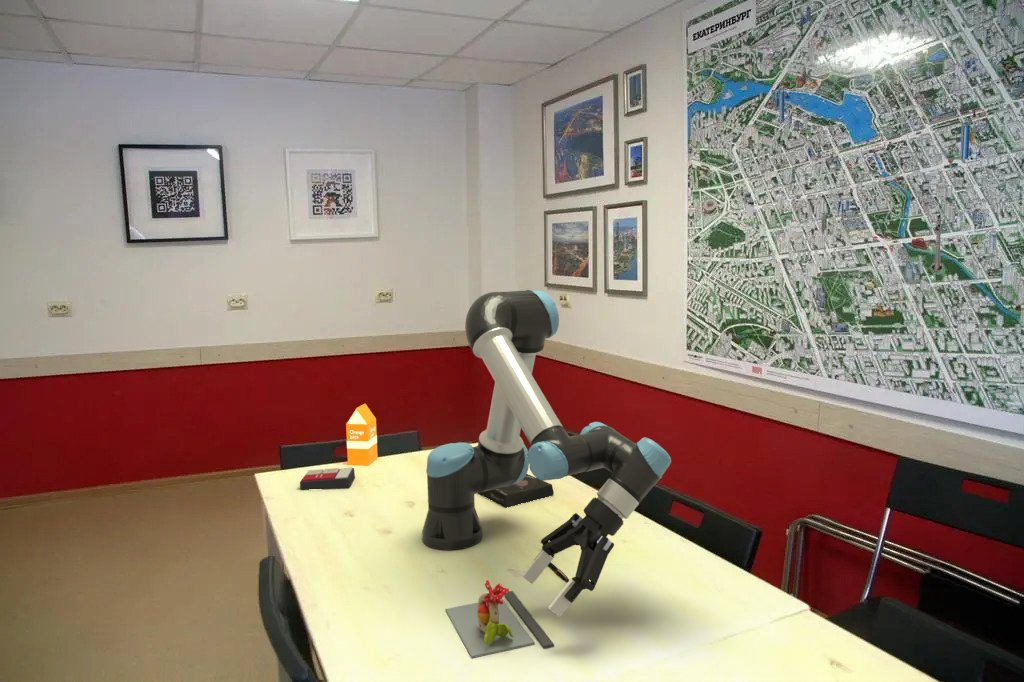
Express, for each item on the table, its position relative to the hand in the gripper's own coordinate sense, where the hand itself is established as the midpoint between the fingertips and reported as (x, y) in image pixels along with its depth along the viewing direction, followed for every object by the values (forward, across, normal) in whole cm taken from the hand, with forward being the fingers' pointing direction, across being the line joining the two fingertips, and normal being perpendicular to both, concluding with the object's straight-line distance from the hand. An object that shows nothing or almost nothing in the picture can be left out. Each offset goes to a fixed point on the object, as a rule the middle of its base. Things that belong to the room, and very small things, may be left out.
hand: (539, 595), depth 133 cm
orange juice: (+16, +125, +7) cm, 126 cm away
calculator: (+26, +105, +16) cm, 109 cm away
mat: (+10, +4, 0) cm, 10 cm away
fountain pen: (-4, +22, -14) cm, 26 cm away
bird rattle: (+12, 0, +3) cm, 12 cm away
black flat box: (-10, +73, -20) cm, 77 cm away
